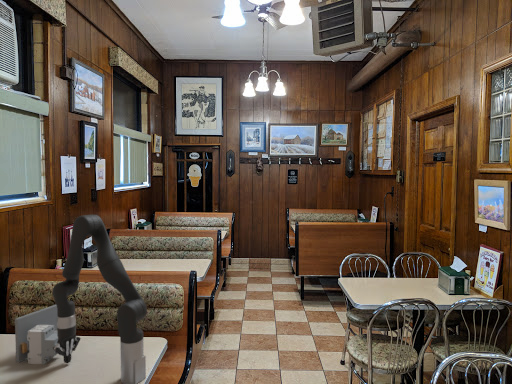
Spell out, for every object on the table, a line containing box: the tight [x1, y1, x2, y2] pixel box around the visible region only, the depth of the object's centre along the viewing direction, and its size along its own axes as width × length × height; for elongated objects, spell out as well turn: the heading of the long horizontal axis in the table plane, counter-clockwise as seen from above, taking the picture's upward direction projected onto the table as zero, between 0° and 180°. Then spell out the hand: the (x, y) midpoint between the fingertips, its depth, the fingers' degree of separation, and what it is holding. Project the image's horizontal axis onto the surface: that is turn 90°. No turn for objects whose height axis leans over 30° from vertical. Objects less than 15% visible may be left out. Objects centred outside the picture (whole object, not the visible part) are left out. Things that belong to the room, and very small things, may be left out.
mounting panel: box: [14, 304, 57, 363], centre depth 179 cm, size 2×22×20 cm, turn 155°
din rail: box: [21, 329, 57, 353], centre depth 178 cm, size 2×20×4 cm, turn 155°
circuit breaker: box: [27, 325, 62, 365], centre depth 171 cm, size 8×14×15 cm, turn 87°
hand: (67, 362), depth 167 cm, fingers closed
